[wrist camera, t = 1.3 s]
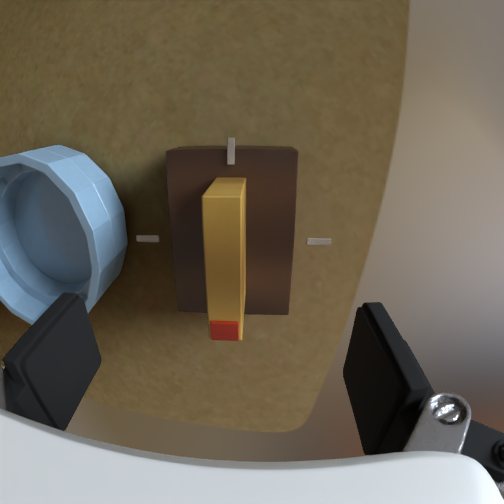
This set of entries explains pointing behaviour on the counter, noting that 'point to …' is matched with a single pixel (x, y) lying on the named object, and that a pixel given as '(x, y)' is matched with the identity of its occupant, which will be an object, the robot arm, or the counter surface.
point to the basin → (57, 230)
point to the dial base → (257, 220)
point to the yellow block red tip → (225, 256)
